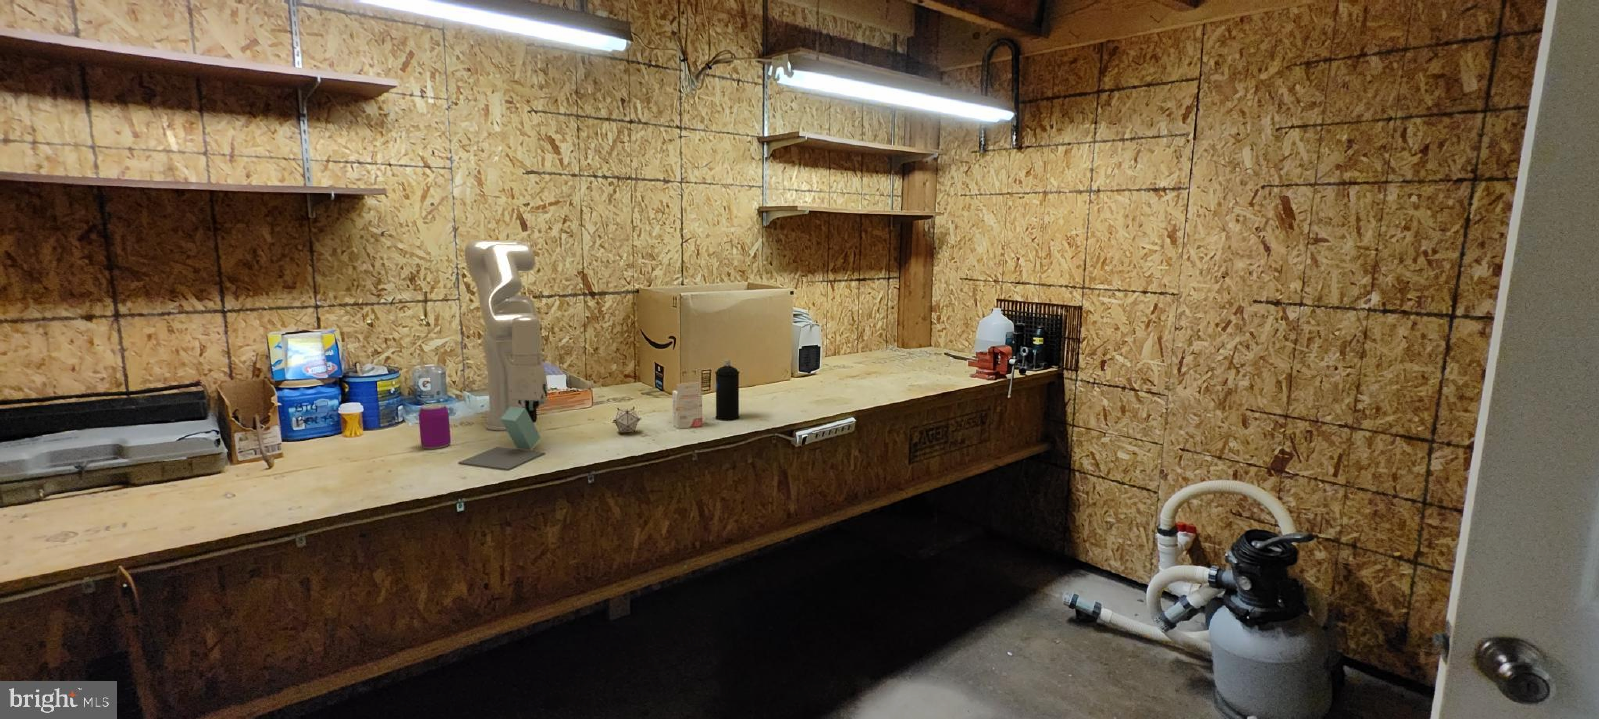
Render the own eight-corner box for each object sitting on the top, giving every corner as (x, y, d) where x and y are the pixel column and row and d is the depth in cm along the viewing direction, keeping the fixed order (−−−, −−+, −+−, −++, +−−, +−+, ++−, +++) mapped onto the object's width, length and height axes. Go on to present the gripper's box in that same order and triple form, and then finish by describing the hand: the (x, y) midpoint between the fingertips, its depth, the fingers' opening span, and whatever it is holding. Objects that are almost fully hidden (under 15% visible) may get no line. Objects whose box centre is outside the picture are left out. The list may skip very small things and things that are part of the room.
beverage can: (445, 440, 211) (442, 401, 209) (454, 446, 206) (452, 405, 204) (417, 445, 206) (414, 405, 204) (426, 451, 200) (423, 410, 198)
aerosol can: (744, 417, 243) (744, 359, 240) (729, 422, 236) (729, 363, 233) (725, 413, 248) (725, 357, 244) (710, 418, 241) (709, 360, 237)
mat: (458, 463, 190) (458, 462, 190) (497, 448, 204) (497, 446, 204) (508, 470, 186) (508, 468, 185) (544, 454, 200) (544, 452, 200)
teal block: (517, 448, 204) (500, 419, 197) (526, 436, 208) (510, 406, 200) (531, 450, 203) (515, 420, 195) (541, 438, 206) (525, 408, 199)
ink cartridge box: (697, 422, 235) (697, 379, 233) (702, 426, 231) (702, 381, 228) (672, 425, 231) (671, 381, 229) (677, 429, 227) (676, 384, 225)
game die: (630, 445, 221) (631, 425, 214) (606, 434, 222) (606, 414, 215) (645, 426, 228) (647, 406, 221) (621, 415, 229) (622, 395, 222)
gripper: (496, 360, 201) (500, 423, 204) (541, 363, 196) (545, 428, 199) (514, 356, 208) (517, 417, 211) (558, 359, 203) (561, 421, 207)
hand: (531, 422), depth 205 cm, fingers closed
